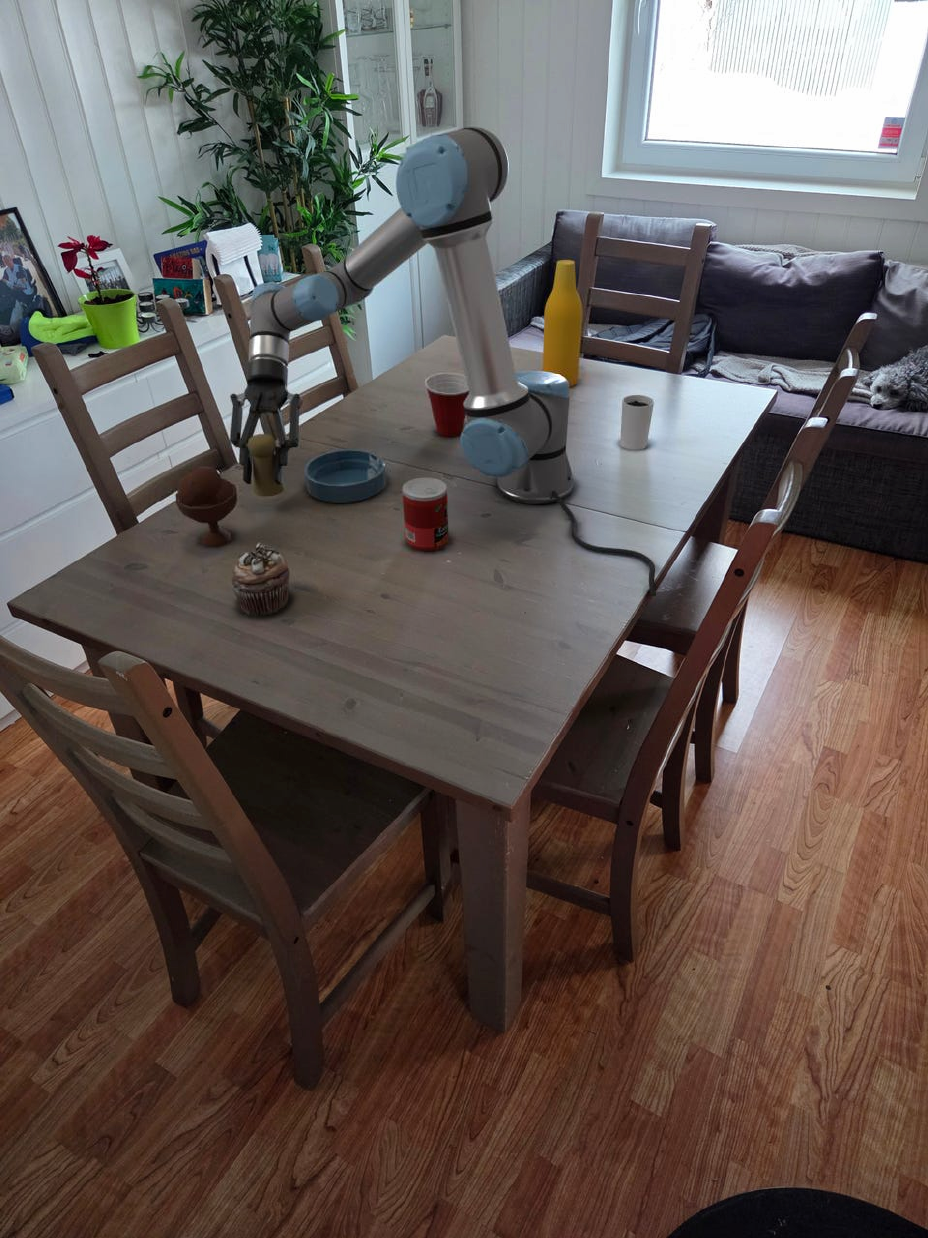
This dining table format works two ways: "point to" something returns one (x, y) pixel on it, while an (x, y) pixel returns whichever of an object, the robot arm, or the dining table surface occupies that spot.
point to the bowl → (345, 475)
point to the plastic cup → (448, 401)
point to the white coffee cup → (636, 421)
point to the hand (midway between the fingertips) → (262, 481)
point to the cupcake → (261, 581)
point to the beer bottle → (563, 325)
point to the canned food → (426, 513)
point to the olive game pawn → (264, 465)
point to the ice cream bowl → (207, 501)
